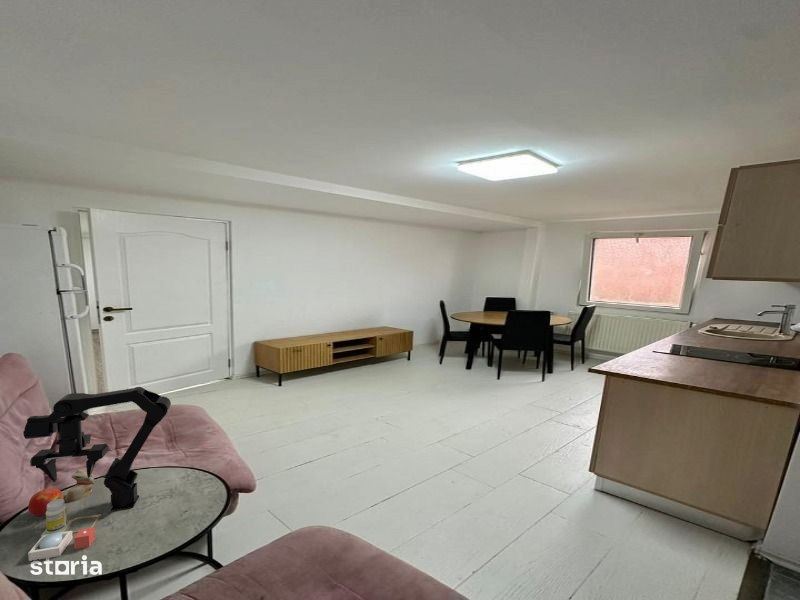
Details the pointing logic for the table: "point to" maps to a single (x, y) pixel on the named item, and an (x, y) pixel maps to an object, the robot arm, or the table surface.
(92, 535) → the red die
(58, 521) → the supplement bottle
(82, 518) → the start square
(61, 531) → the pad
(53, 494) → the apple
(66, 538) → the tray
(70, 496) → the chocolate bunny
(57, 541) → the dome
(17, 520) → the table surface
